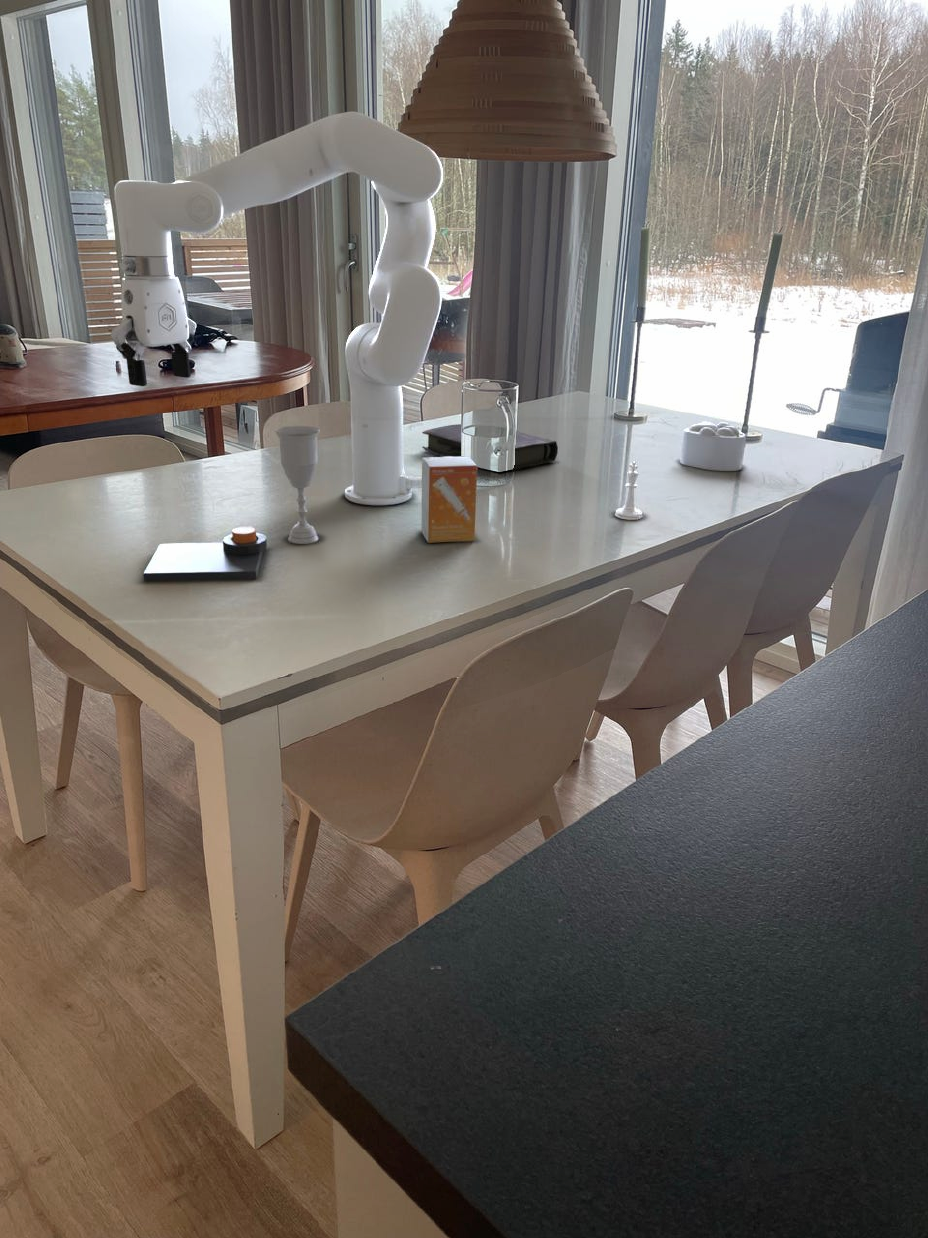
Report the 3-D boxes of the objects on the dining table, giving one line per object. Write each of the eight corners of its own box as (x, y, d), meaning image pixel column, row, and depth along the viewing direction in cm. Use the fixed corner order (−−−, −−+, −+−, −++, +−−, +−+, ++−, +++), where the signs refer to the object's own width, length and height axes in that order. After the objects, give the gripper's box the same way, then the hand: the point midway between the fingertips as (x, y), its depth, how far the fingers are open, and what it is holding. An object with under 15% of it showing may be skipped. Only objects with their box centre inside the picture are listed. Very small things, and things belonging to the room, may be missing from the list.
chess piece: (625, 521, 166) (631, 466, 162) (609, 513, 170) (614, 459, 166) (647, 517, 168) (653, 463, 164) (631, 510, 172) (636, 457, 168)
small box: (427, 544, 152) (428, 466, 147) (420, 532, 158) (421, 456, 153) (475, 541, 154) (478, 464, 149) (467, 529, 160) (469, 454, 155)
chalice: (315, 548, 150) (310, 437, 142) (275, 544, 151) (268, 434, 144) (330, 533, 156) (326, 427, 149) (292, 530, 157) (286, 424, 150)
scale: (268, 549, 149) (267, 531, 147) (261, 579, 137) (260, 560, 135) (161, 551, 147) (159, 533, 146) (144, 582, 135) (141, 563, 134)
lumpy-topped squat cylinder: (697, 454, 212) (702, 416, 209) (750, 465, 204) (756, 426, 201) (674, 462, 205) (679, 423, 202) (728, 474, 197) (734, 433, 194)
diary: (480, 440, 221) (480, 419, 219) (557, 461, 204) (558, 438, 202) (419, 452, 209) (419, 429, 207) (496, 475, 193) (496, 451, 190)
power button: (257, 536, 146) (256, 526, 145) (255, 544, 143) (254, 533, 142) (234, 537, 146) (233, 526, 145) (231, 544, 142) (230, 534, 142)
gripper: (123, 272, 135) (137, 391, 142) (206, 267, 149) (215, 375, 156) (87, 269, 139) (102, 386, 145) (171, 265, 153) (181, 371, 160)
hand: (160, 380), depth 151 cm, fingers open, 9 cm apart
